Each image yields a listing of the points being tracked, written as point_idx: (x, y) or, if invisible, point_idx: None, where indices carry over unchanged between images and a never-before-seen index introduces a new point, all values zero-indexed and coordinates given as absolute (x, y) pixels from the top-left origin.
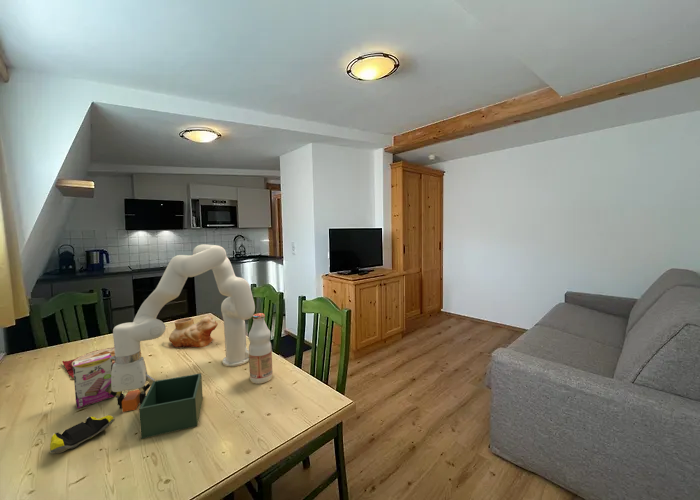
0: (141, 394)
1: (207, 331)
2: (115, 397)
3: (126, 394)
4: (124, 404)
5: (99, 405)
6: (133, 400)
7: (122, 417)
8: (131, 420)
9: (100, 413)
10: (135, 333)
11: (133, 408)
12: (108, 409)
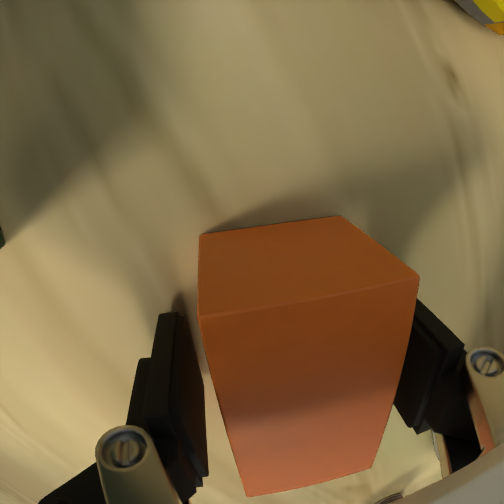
0: (144, 418)
1: None
2: (499, 353)
3: (382, 431)
4: (357, 256)
5: (492, 347)
6: (226, 300)
7: (298, 94)
8: (153, 3)
9: (492, 249)
10: None
11: (226, 239)
12: (457, 296)
